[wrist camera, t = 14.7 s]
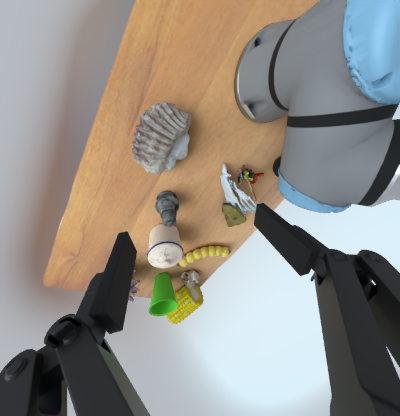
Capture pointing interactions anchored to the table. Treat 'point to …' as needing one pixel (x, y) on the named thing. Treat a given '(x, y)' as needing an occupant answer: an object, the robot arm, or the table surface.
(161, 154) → the grey ridged fossil rock
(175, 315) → the food
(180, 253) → the teacup with lid
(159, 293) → the cup
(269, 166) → the table surface
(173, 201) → the grey carved upright piece
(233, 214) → the stone
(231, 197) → the decorative object
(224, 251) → the yellow segmented curved bar
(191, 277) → the ornament
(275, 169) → the billiard ball
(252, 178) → the toy figure
